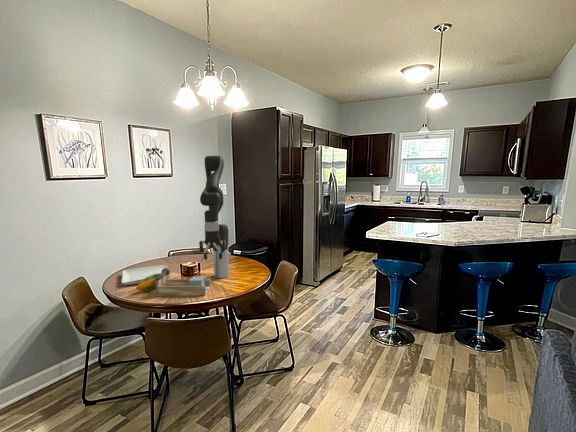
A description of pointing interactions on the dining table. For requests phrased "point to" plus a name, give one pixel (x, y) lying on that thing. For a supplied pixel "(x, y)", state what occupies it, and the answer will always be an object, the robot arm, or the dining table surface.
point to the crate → (197, 281)
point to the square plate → (140, 274)
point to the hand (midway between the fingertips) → (213, 259)
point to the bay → (178, 286)
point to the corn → (148, 283)
